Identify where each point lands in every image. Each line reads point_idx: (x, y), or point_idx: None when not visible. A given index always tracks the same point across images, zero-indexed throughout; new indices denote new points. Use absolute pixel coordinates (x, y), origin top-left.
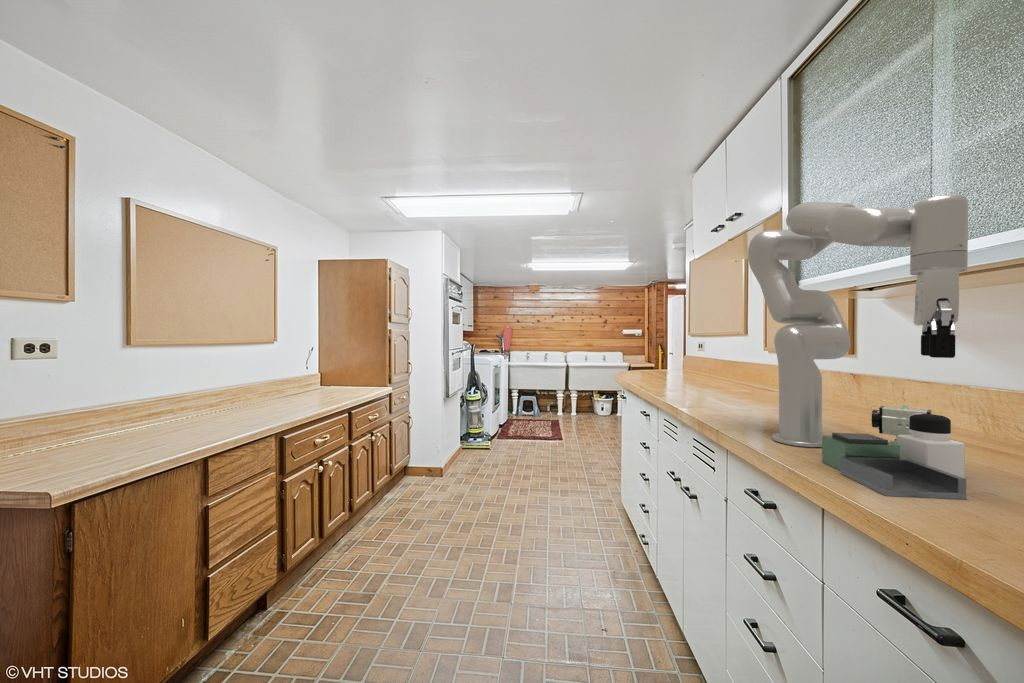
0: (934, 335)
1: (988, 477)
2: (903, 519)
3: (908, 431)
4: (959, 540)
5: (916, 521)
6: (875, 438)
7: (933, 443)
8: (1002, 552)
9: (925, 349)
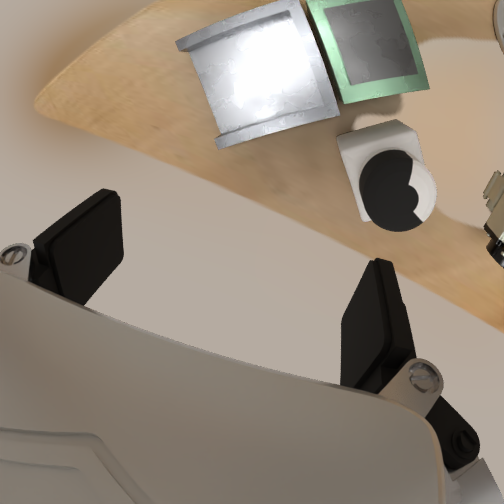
0: (38, 256)
1: (380, 234)
2: (105, 54)
3: (501, 202)
4: (77, 92)
5: (106, 65)
6: (361, 65)
7: (345, 164)
8: (70, 117)
9: (369, 288)
